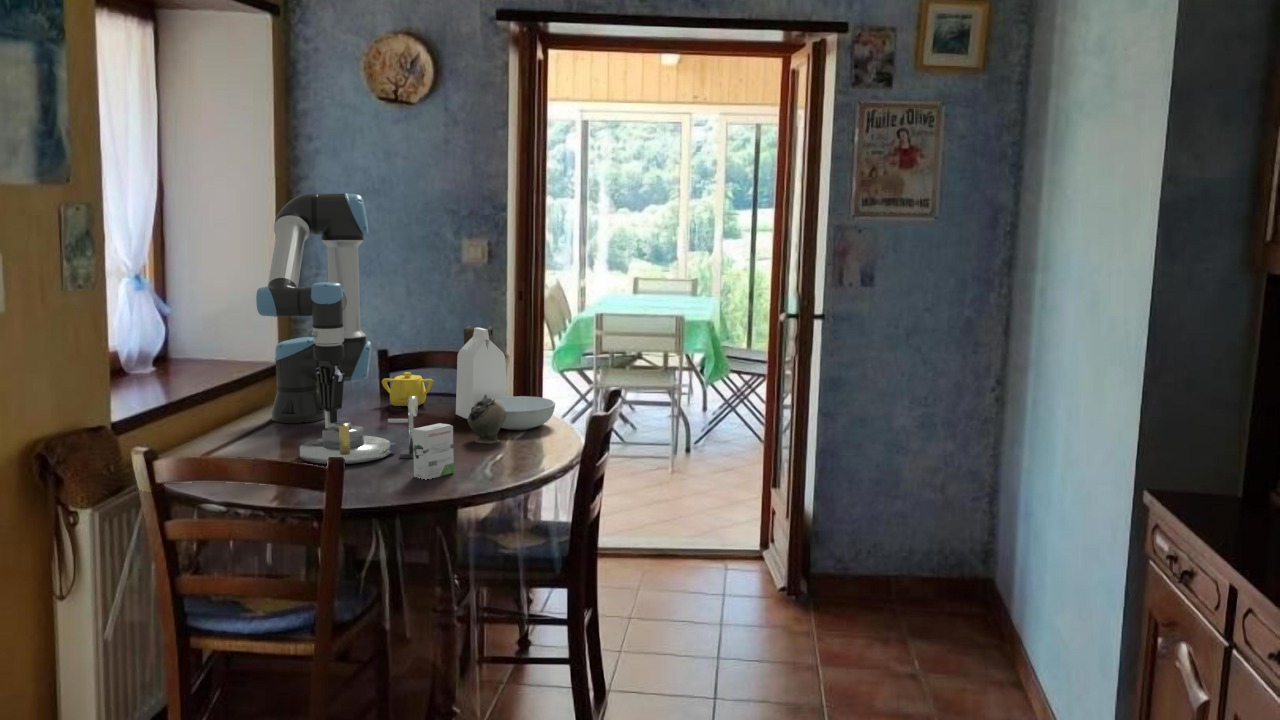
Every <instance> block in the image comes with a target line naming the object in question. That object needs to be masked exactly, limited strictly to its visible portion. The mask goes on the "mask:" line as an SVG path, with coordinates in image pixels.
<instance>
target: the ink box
mask: <svg viewBox="0 0 1280 720" xmlns="http://www.w3.org/2000/svg"><path fill="white" fill-rule="evenodd" d="M454 450H455V449H454V426H453V425H451V424H448V423H441V422H440V423H434V424H430V425H425V426H421V427H420V426H419V427H416V428H415V427H414V429H413V456H414V458H413V477H414V478H416V477H417V478H416V479H420V478H421V479H420V480H423V479H425V481H427V479H429V480H432V478H433V479H435V478H436V479H437V478H440V477H444V476H447V475H451V474H454V473H455V463H454V462H455V461H454V460H455V459H454V458H455V457H454Z"/></svg>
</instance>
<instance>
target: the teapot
mask: <svg viewBox="0 0 1280 720" xmlns="http://www.w3.org/2000/svg"><path fill="white" fill-rule="evenodd" d="M389 382H392V384H391V387H389V385H388V383H389ZM425 383H427V387H425ZM381 384H382V386H383V388H384V389H385V390H386V391H387V393H389V401H390V404H391V406H395V407H396V406H402V407H408V397H409V396H417V400H418V406H421V405H422V404H424V403H425V401H426V398H427V393H428V392H430V390H431V389H432V387H433V386H434V380H433V379H432V378H425V379H424V378H423V377H422V376H421V375H419V374H418V375H417V374H412V372H409V371H407V372H406V371H405V372H403V375H397V376H395V377H394V378H383V379H382V380H381Z"/></svg>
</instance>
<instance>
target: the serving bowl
mask: <svg viewBox="0 0 1280 720" xmlns="http://www.w3.org/2000/svg"><path fill="white" fill-rule="evenodd" d="M495 400H497V401H499V402H500V403H501V404H502V405H503V407H504V408H505V411H506V418H505V420H504V422H503V424H502V426H501V428H500V429H504V430H508V431H525V430H531V429H533V428H536V427H539V426H542V425H544V424H546V423H547V422H548V421H549V420H551V418H552V417H553V414H554V412H555V408H556V407H555V406H556V402H555V401H553V400H552V399H549V398H546V397H541V396H527V395H526V396H525V395H523V396H522V395H520V396H508V397H502V398H495Z"/></svg>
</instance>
